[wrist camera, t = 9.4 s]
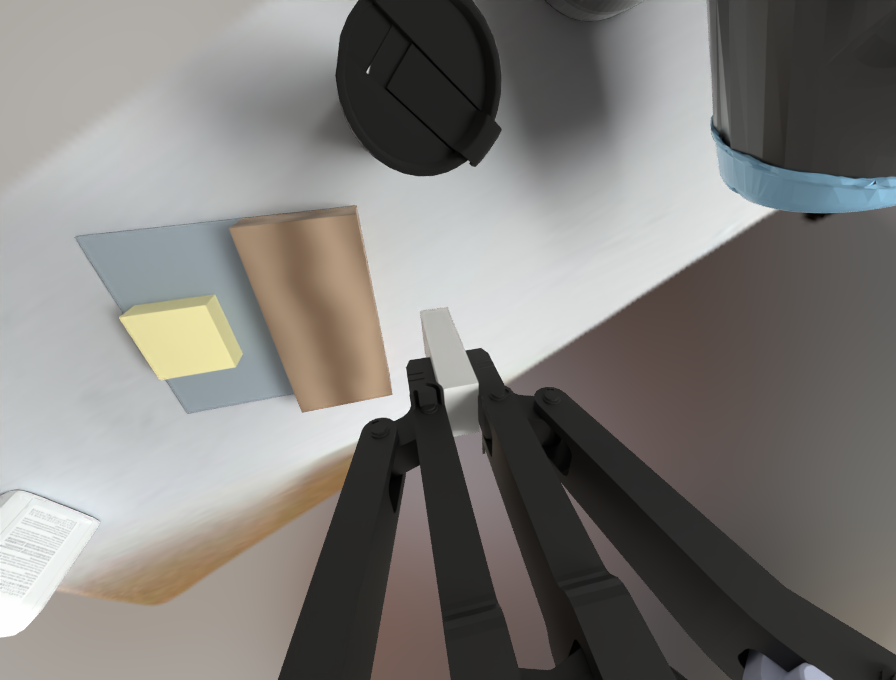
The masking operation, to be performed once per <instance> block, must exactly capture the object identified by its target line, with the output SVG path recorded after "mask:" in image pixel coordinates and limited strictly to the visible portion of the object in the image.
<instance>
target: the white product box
mask: <svg viewBox="0 0 896 680" xmlns="http://www.w3.org/2000/svg"><path fill="white" fill-rule="evenodd" d="M99 524H100V522H99V521H98V520H96V519H95V518H93V517H90V516H88V515H85V514H83V513H81V512H78V511H75V510H73V509H70V508H68V507H65V506H63V505H60V504H58V503H55V502H53V501H50V500H47V499H45V498H43V497H40V496H37V495H34V494H32V493H28V492H25V491H21V490H14V491H9V492H7V493H4V494H3V495H1V496H0V637H7V636H12V635H16V634H17V633H18V632H20V631H23V630H24V629H25V628H26V627H27V626H28V625H29V624H30V623H31V622H32V620H33V619H34V618H35V617H36V616H37V615H38V614H39V613H40V612H41V611H42V609H43V608H44V606H45V605H46V603H47V602H48V601H49V599H50V597H51V596H52V595H53V593H54V592H55V590H56V589H57V587H58V586H59V584H60V583H61V581H62V580H63V578H64V577H65V575H66V574H67V572H68V571H69V570H70V568H71V567H72V565H73V564H74V562H75V561H76V559H77V558H78V556H79V555H80V553H81V552H82V550H83V549H84V547H85V546H86V544H87V543H88V541H89V540H90V539H91V537H92V536H93V534H94V533H95V531H96V530H97V528H98V526H99Z"/></svg>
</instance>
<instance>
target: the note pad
mask: <svg viewBox="0 0 896 680" xmlns="http://www.w3.org/2000/svg"><path fill="white" fill-rule="evenodd" d="M119 319H120V321H121V322H122V324H123V325H124V327H125V328H126V330H127V331H128V333H129V334H130V336H131V337H132V339H133V340H134V342H135V343H136V345H137V346H138V348H139V350H140V351H141V353H142V354H143V356H144V357H145V359H146V360H147V362H148V363H149V365H150V366H151V368H152V369H153V371H154V372H155V374H156V376H157V377H158V379H159V380H165V379H171V378H177V377H182V376H188V375H194V374H200V373H206V372H211V371H217V370H223V369H229V368H235V367H236V366H237V364H238V362H239V360H240V358H241V357H242V355H243V353H242V351H241V349H240V347H239V345H238V343H237V340H236V338H235V336H234V334H233V332H232V330H231V328H230V325H229V323H228V321H227V319H226V317H225V315H224V312H223V310H222V308H221V306H220V304H219V302H218V300H217V297H216V295H215V294H213V295H206V296H199V297H192V298H185V299H178V300H171V301H163V302H156V303H149V304H142V305H135V306H133V307H132V308H130V309H129V310H128V311H127V312H125V313H124V314H123V315H121V316H120V317H119Z"/></svg>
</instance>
